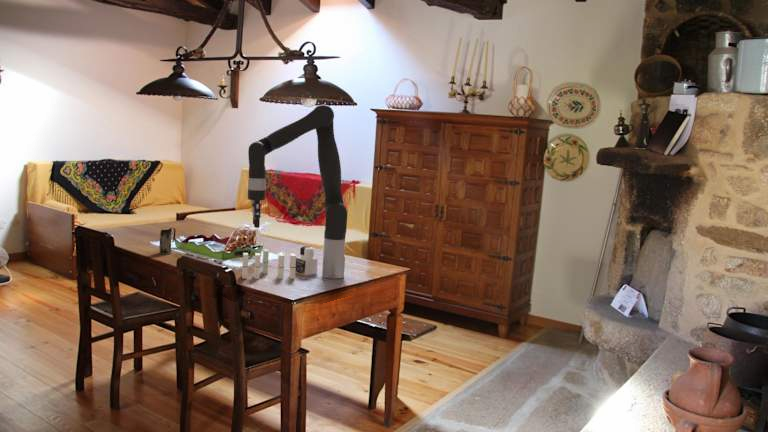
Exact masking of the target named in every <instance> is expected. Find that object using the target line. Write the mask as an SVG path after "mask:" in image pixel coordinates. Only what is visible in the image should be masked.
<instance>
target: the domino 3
mask: <svg viewBox="0 0 768 432" xmlns="http://www.w3.org/2000/svg"><path fill="white" fill-rule="evenodd" d="M261 271H262V274H264V275H266V274H267V275H268V271H269V249H268V248H263V249H262V269H261Z"/></svg>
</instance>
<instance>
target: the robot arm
mask: <svg viewBox="0 0 768 432" xmlns="http://www.w3.org/2000/svg"><path fill="white" fill-rule="evenodd" d="M334 119H335V113H334V110H333V109H332V108H331V106H329V105H327V104H320V105H317V106H316V107H314V109H313V110H311V111H310V112H309V113H307V114H306V115H305V116H303V117H302V118H299V119H298V120H295V121H294V122H292V123H290V124H289V123H288V124H287V125H285V126H283V127H280V128H279V129H277V130H274V131H273V132H271V133H270V134H268V136H265V137H262V138H260V139H259V140H257V141H254V142H252V143H251V144H250V145H249V146H248V179H247V200H249V201H251V202H252V203H251V212H252V214H251V215H252V225H253V227H254V228H255V229H259V228H260V219H261V217H262V203H260V201H265V200H266V197H267V194H266V193H267V192H266V191H267V189H266V187H267V185H266V184H267V182H266V166H265V165H266V164H265V162H266V161H265V160H266V156H267V155H269V154H270V153H272V152H273V151H275V150H278V149H280V148H282V147H285V146H286V145H288V144H290V143H291V142H293V141H295V140H297V139H298V138H300V137H302V136H303V135H305V134H307V133H309V132H311V131H313V130H315V132H316V135H317V136H316V137H317V159H318V162H317V163H318V169H319V174H320V179H321V183H322V186H323V190H324V199H325V200H324V201H325V202H324V204H325V205H324V206H325V208H324V209H325V210H324V212H325V222H324V223H325V226H324V237H323V254H322V269H321V270H322V271H321V272H322V274H321V277H322V278H325V279H332V280H336V279H337V280H338V279H339V280H340V279H344V278H345V269H346V268H345V266H346V257H345V251H346V250H345V248H346V247H345V245H346V236H347V235H346V234H347V228H348V227H347V225H348V209H347V208H346V205H345V203H344V199H343V195H342V167H341V160H340V159H341V158H340V154H339V150H338V147H337V143H336V142H337V141H336V139H335V133H334Z"/></svg>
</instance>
